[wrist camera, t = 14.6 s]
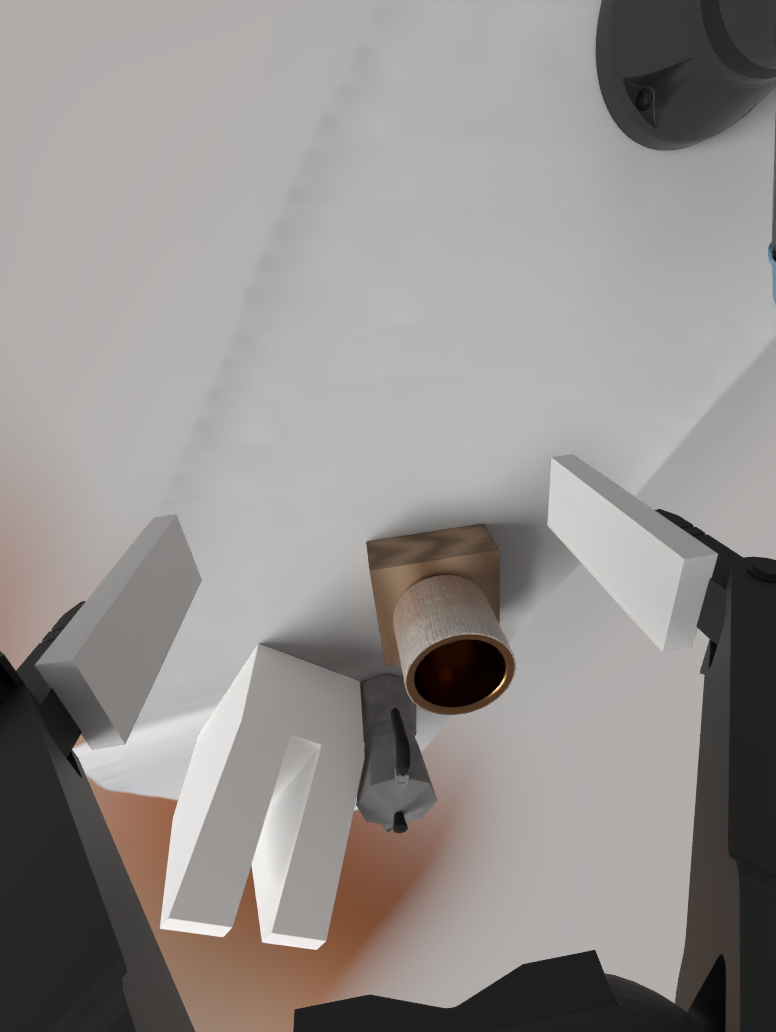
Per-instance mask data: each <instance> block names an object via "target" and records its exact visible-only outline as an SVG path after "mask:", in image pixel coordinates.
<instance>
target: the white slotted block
mask: <svg viewBox="0 0 776 1032" xmlns="http://www.w3.org/2000/svg"><path fill="white" fill-rule="evenodd" d="M364 759H365V755H364V739H363V723H362V707H361V691H360V681H357V680H354V679H352V678H349V677H346V676H344V675H341V674H338V673H336V672H333V671H330V670H328V669H325V668H322V667H320V666H317V665H314V664H312V663H309V662H307V661H304V660H301V659H299V658H296V657H293V656H291V655H288V654H285V653H283V652H280V651H277V650H275V649H272V648H269V647H267V646H264V645H261V644H259V643H258V645H257V646H256V648H255V649H254V651H253V652H252V654H251V656H250V657H249V659H248V660H247V662H246V663H245V665H244V666H243V668H242V669H241V671H240V672H239V674H238V675H237V677H236V678H235V680H234V681H233V683H232V684H231V686H230V687H229V689H228V691H227V692H226V694H225V695H224V697H223V698H222V700H221V701H220V703H219V704H218V706H217V707H216V709H215V710H214V712H213V713H212V715H211V716H210V718H209V719H208V721H207V722H206V724H205V726H204V727H203V729H202V730H201V732H200V733H199V736H198V739H197V742H196V745H195V749H194V752H193V755H192V758H191V762H190V765H189V768H188V771H187V775H186V778H185V781H184V784H183V788H182V791H181V794H180V797H179V800H178V804H177V807H176V810H175V813H174V817H173V823H172V831H171V840H170V848H169V857H168V865H167V873H166V882H165V890H164V898H163V907H162V915H161V924H160V928H161V929H167V930H175V931H183V932H189V933H197V934H204V935H212V936H219V937H224V936H225V935H226V933H227V932H228V931H229V930H230V929H231V928H232V926H233V923H234V920H235V916H236V913H237V910H238V906H239V903H240V900H241V897H242V893H243V890H244V887H245V884H246V880H247V877H248V874H249V870H250V867H251V864H252V870H253V878H254V885H255V893H256V899H257V907H258V915H259V922H260V930H261V937H262V942H263V943H271V944H278V945H285V946H294V947H301V948H308V949H315V950H316V949H318V948H319V947H320V946H321V945H322V944H323V943H324V942H325V941H326V938H327V934H328V929H329V925H330V920H331V915H332V911H333V906H334V901H335V896H336V892H337V887H338V882H339V877H340V873H341V868H342V863H343V858H344V853H345V849H346V844H347V839H348V835H349V830H350V825H351V820H352V816H353V811H354V806H355V801H356V797H357V792H358V787H359V782H360V778H361V773H362V768H363V764H364Z"/></svg>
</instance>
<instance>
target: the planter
mask: <svg viewBox="0 0 776 1032" xmlns="http://www.w3.org/2000/svg"><path fill="white" fill-rule="evenodd" d="M393 626H394V631H395V636H396V642H397V647H398V651H399V656H400V662H401V667H402V672H403V678H404V683H405V688H406V691H407V694H408V696H409V697H410V699H411V700H412V701H413V702H414V703H415V704H416V705H417V706H419V707H420V708H422V709H424V710H426V711H429V712H432V713H436V714H441V715H459V714H465V713H469V712H472V711H476V710H478V709H481V708H483V707H485V706H487V705H489V704H490V703H492V702H494V701H495V700H496V699H498V698H499V697H500V696H501V695H502V694H503V693H504V692H505V691H506V690H507V688H508V687H509V685H510V684H511V682H512V680H513V678H514V674H515V668H516V663H515V658H514V655H513V653H512V651H511V649H510V646H509V644H508V642H507V640H506V638H505V636H504V634H503V632H502V630H501V627H500V625H499V623H498V621H497V619H496V617H495V614H494V612H493V610H492V608H491V606H490V604H489V602H488V599H487V597H486V595H485V594H484V592H483V591H482V590H481V589H480V588H479V586H478V585H476V584H475V583H474V582H472V581H471V580H469V579H466V578H464V577H461V576H456V575H438V576H433V577H429V578H426V579H424V580H421V581H419V582H417V583H416V584H414V585H413V586H411V587H410V588H409V589H407V590H406V591H405V592H404V593H403V595H402V596H401V597H400V599H399V600H398V602H397V604H396V606H395V609H394V614H393Z"/></svg>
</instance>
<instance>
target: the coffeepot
mask: <svg viewBox="0 0 776 1032" xmlns="http://www.w3.org/2000/svg"><path fill="white" fill-rule="evenodd" d="M360 691H361V707H362V723H363V739H364V743H365V747H364V755H365V759H364V764H363V768H362V773H361V778H360V782H359V787H358V793H357V804H356V806H357V807H358V809H359V810H360V812H361V813H362V815H363V816H364V818H365V820H366V821H367V822H372V823H378V824H382V826H383V828H384V830H385V831H386V832H389V831H390V830H393V831H394V832H395V833H403V832H406V830H407V829H408V827H407V824H406V823H407V822H410V821H413V820H417V819H420V818H423V816H424V815H425V814H426V813H427V812H428V810H430V808H431V807H432V806H433V805H434V804H435V802H436V801H437V798H436V795H435V793H434V789H433V786H432V784H431V781H430V778H429V775H428V772H427V769H426V767H425V763H424V760H423V757H422V754H421V751H420V749H419V746H418V744H417V741H416V739H415V735H416V704H415V703H414V702H413V701H412V700H411V699H410V697H409V696H408V694H407V691H406V688H405V683H404V678H402V677H399V676H395V675H380V676H376V677H373V678H370V679H368V680H367V681H365V682H363V683H362V684H361V685H360Z"/></svg>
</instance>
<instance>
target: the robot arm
mask: <svg viewBox="0 0 776 1032" xmlns="http://www.w3.org/2000/svg"><path fill="white" fill-rule="evenodd" d="M596 64H597V73H598V79H599V85H600V89H601V93H602V96H603V99H604V102H605V104H606V107H607V109H608V111H609V113H610V115H611V116H612V118H613V120H614V121H615V123H616V124H617V126H618V127H619V128H620V129H621V130H622V131H623V132H624V133H625V134H626V135H627V136H628V137H629V138H631V139H632V140H633V141H635V142H636V143H638V144H640V145H642V146H645V147H648V148H651V149H656V150H676V149H681V148H685V147H688V146H691V145H694V144H696V143H698V142H701V141H703V140H706V139H708V138H710V137H712V136H715V135H717V134H719V133H720V132H722V131H724V130H725V129H727V128H729V127H730V126H732V125H733V124H735V123H736V122H737V121H739V120H740V119H741V118H742V117H744V116H745V115H746V114H747V113H748V112H749V111H750V110H751V109H753V108H754V107H755V106H756V105H757V104H758V103H759V102H760V101H761V100H762V99H763V98H764V97H765V96H766V95H768V94H769V93H770V92H771V91H772V90H773V89H774V88H775V87H776V0H602V3H601V8H600V13H599V19H598V25H597V35H596ZM768 258H769V261H770V263H771V265H772V270H773V298H774V302H775V304H776V120H775V153H774V186H773V219H772V242H771V244H770V245H769V247H768ZM548 527H549V528H550V529H551V530H552V531H553V532H554V533H555V534H556V535H557V537H558V538H559V539H560V540H561V541H562V542H563V543H564V544H565V545H566V546H567V548H568V549H569V550H570V551H571V552H572V553H573V554H574V555H575V556H576V557H577V559H578V560H579V561H580V562H581V563H582V564H583V565H584V566H585V567H586V568H587V569H588V571H589V572H590V573H591V574H592V575H593V576H594V577H595V578H596V579H597V580H598V582H599V583H600V584H601V585H602V586H603V587H604V588H605V589H606V591H607V592H608V593H609V594H610V595H611V596H612V597H613V598H614V599H615V600H616V602H617V603H618V604H619V605H620V606H621V607H622V608H623V609H624V610H625V611H626V613H627V614H628V615H629V616H630V617H631V618H632V619H633V620H634V621H635V622H636V624H637V625H638V626H639V627H640V628H641V629H642V630H643V631H644V632H645V634H646V635H647V636H648V637H649V638H650V639H651V640H652V641H653V642H654V643H655V645H657V647H658V648H659V649H660V650H661V651H662V652H667V651H673V650H679V649H684V648H690V647H692V646H693V642H694V639H695V636H696V632H697V628H699V629H700V630H701V631H702V632H703V633H704V634H705V635H706V636H707V637H708V638H709V639H710V640H709V644H708V647H707V650H706V654H705V657H704V660H703V664H702V667H701V670H700V673H701V674H704V675H705V677H704V691H703V706H702V719H701V733H700V748H699V761H698V775H697V790H696V804H695V817H694V830H693V846H692V859H691V872H690V886H689V887H690V888H689V900H688V914H687V928H686V939H685V948H684V954H683V959H682V964H681V968H680V973H679V978H678V985H677V991H676V999H675V1004H674V1003H673V1002H671V1001H669V1000H668V999H666V998H665V997H663V996H662V995H660V994H658V993H657V992H655V991H652V990H650V989H648V988H646V987H644V986H642V985H640V984H638V983H636V982H633V981H630V980H627V979H624V978H621V977H618V976H615V975H610V974H605V973H604V971H603V969H602V966H601V964H600V961H599V959H598V956H597V953H596V951H595V950H592V951H587V952H582V953H578V954H572V955H567V956H562V957H557V958H552V959H547V960H542V961H537V962H532V963H527V964H523V965H521V966H520V967H518V968H516V969H515V970H513V971H512V972H510V973H509V974H507V975H505V976H504V977H502V978H501V979H499V980H498V981H496V982H494V983H493V984H491V985H490V986H488V987H487V988H485V989H483V990H482V991H480V992H479V993H477V994H476V995H474V996H473V997H471V998H469V999H468V1000H466V1001H465V1002H463V1003H462V1004H460V1005H458V1006H456V1007H453V1008H440V1007H435V1006H429V1005H423V1004H418V1003H413V1002H407V1001H402V1000H396V999H391V998H385V997H380V996H375V995H365V996H361V997H355V998H350V999H345V1000H340V1001H335V1002H330V1003H325V1004H320V1005H315V1006H310V1007H305V1008H300V1009H295V1013H294V1031H293V1032H776V560H773V559H769V558H761V557H746V558H743V557H741V556H740V555H738V554H737V553H735V552H734V551H732V550H730V549H729V548H728V547H726V546H725V545H723V544H721V543H720V542H718V541H717V540H715V539H714V538H712V537H711V536H709V535H705V532H703V531H702V530H700V529H698V528H697V527H693V525H692V524H691V523H689V522H688V521H686V520H684V519H683V518H682V517H680V516H678V515H675V514H672V513H670V512H667V511H664V510H661V509H658V510H653V509H652V508H650V507H649V506H647V505H646V504H644V503H643V502H642V501H640V500H638V499H637V498H636V497H634V496H633V495H631V494H630V493H628V492H627V491H626V490H624V489H623V488H621V487H620V486H618V485H617V484H615V483H614V482H612V481H611V480H609V479H608V478H607V477H605V476H604V475H602V474H601V473H599V472H598V471H596V470H595V469H593V468H592V467H591V466H589V465H588V464H586V463H585V462H583V461H582V460H580V459H579V458H577V457H576V456H574V455H573V454H571V455H565V456H558V457H552V458H551V475H550V492H549V508H548ZM201 581H202V579H201V577H200V574H199V572H198V569H197V566H196V564H195V561H194V559H193V556H192V553H191V551H190V548H189V546H188V543H187V541H186V538H185V535H184V533H183V530H182V528H181V525H180V522H179V520H178V517H177V515H176V514H175V515H168V516H162V517H155V518H153V519H152V520H151V522H150V523H149V524H148V525H147V526H146V528H145V529H144V530H143V532H142V533H141V534H140V535H139V536H138V538H137V539H136V540H135V541H134V543H133V544H132V545H131V546H130V548H129V549H128V550H127V551H126V553H125V554H124V555H123V556H122V557H121V559H120V560H119V561H118V562H117V564H116V565H115V566H114V567H113V569H112V570H111V571H110V572H109V574H108V575H107V576H106V577H105V579H104V580H103V581H102V582H101V583H100V585H99V586H98V587H97V588H96V590H95V591H94V592H93V593H92V595H91V596H90V597H89V598H88V600H87V601H83V602H80V603H79V604H77V605H76V606H75V607H73V608H72V609H71V610H69V611H68V612H67V613H65V614H64V615H63V616H62V617H61V618H60V619H59V621H58V622H57V623H56V624H55V625H54V627H53V628H52V631H51V632H49V633H48V634H47V635H46V636H45V637H44V639H43V640H42V643H39V645H38V646H37V647H36V648H35V649H34V650H33V652H32V653H31V654H30V655H29V656H28V657H27V659H26V660H25V661H24V662H23V663H22V665H21V666H20V667H19V668H18V669H17V670H16V671H15V669H14V668H13V667H12V665H11V664H10V662H9V661H8V659H7V658H6V657H5V655H4V654H3V653H1V652H0V1032H195V1030H194V1028H193V1026H192V1023H191V1021H190V1019H189V1016H188V1014H187V1012H186V1009H185V1007H184V1005H183V1002H182V1000H181V998H180V995H179V993H178V990H177V988H176V986H175V984H174V981H173V979H172V977H171V974H170V972H169V969H168V967H167V965H166V963H165V960H164V958H163V955H162V953H161V951H160V948H159V946H158V944H157V941H156V939H155V937H154V935H153V932H152V930H151V927H150V925H149V923H148V920H147V918H146V916H145V913H144V911H143V909H142V906H141V904H140V901H139V899H138V897H137V894H136V892H135V890H134V887H133V885H132V883H131V880H130V878H129V876H128V873H127V871H126V869H125V866H124V864H123V862H122V859H121V857H120V855H119V852H118V850H117V848H116V845H115V843H114V841H113V838H112V836H111V834H110V831H109V829H108V827H107V824H106V822H105V820H104V817H103V815H102V812H101V810H100V808H99V805H98V803H97V801H96V798H95V796H94V794H93V791H92V789H91V787H90V785H89V782H88V780H87V777H86V775H85V773H84V770H83V768H82V766H81V763H80V761H79V759H78V757H77V756H76V754H75V753H74V752H73V750H72V748H73V747H74V745H75V743H76V741H77V740H78V738H79V736H80V734H82V736H83V737H84V738H85V740H86V742H87V743H88V745H89V746H90V748H91V749H92V750H95V749H101V748H107V747H113V746H119V745H124V744H126V742H127V739H128V737H129V735H130V733H131V731H132V729H133V727H134V724H135V722H136V720H137V718H138V716H139V714H140V712H141V709H142V707H143V705H144V703H145V701H146V699H147V697H148V694H149V692H150V690H151V688H152V686H153V684H154V682H155V679H156V677H157V675H158V673H159V671H160V669H161V666H162V664H163V662H164V660H165V658H166V656H167V654H168V651H169V649H170V647H171V645H172V643H173V641H174V639H175V636H176V634H177V632H178V630H179V628H180V626H181V624H182V621H183V619H184V617H185V615H186V613H187V611H188V608H189V606H190V604H191V602H192V600H193V598H194V596H195V593H196V591H197V589H198V587H199V585H200V583H201Z"/></svg>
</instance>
